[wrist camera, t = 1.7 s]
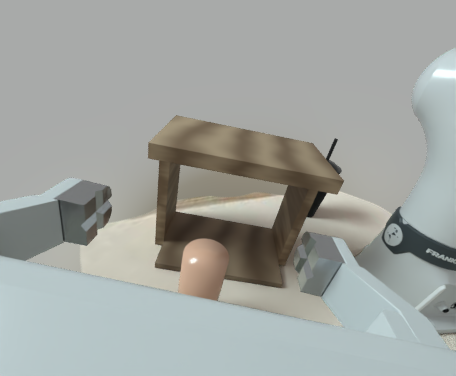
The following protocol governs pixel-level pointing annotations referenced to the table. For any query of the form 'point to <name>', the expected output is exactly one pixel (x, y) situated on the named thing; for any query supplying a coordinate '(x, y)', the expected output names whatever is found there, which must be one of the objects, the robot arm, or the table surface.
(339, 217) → the table surface
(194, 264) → the peach tapered cylinder
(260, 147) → the under counter shelf
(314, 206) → the drinking cup
